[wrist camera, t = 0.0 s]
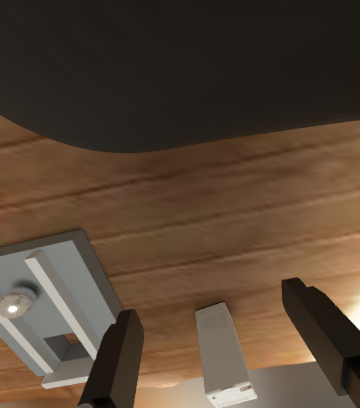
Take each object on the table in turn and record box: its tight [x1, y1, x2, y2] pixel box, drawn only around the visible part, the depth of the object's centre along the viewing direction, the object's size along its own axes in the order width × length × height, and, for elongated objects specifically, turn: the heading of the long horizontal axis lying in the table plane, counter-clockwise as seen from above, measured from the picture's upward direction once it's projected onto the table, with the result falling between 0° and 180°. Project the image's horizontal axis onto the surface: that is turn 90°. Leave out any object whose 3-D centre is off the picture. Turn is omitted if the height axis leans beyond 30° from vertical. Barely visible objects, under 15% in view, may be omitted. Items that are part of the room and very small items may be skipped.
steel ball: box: [0, 286, 36, 319], centre depth 26 cm, size 4×4×4 cm
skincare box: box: [195, 302, 257, 408], centre depth 29 cm, size 6×4×12 cm
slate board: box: [0, 229, 123, 389], centre depth 30 cm, size 27×20×6 cm
